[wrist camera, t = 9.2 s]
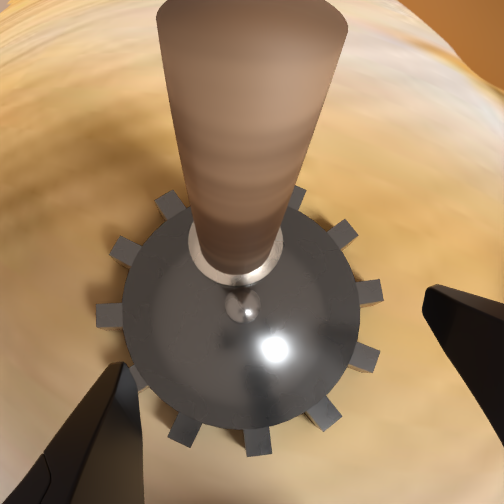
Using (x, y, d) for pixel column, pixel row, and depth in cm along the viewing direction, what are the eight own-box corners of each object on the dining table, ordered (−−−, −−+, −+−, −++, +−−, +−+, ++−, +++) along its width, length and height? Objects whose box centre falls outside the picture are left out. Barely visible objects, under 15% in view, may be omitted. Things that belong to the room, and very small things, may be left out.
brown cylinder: (271, 277, 17) (365, 72, 4) (195, 272, 16) (129, 55, 4) (273, 210, 18) (333, -8, 6) (203, 205, 18) (180, -20, 6)
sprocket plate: (312, 482, 14) (322, 495, 12) (66, 367, 15) (49, 367, 14) (399, 247, 20) (414, 235, 18) (184, 154, 21) (180, 135, 19)
